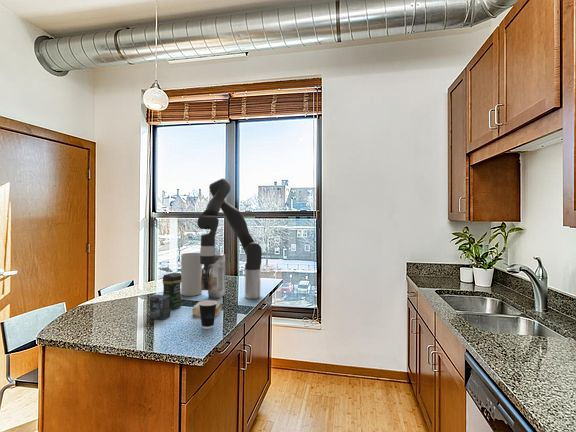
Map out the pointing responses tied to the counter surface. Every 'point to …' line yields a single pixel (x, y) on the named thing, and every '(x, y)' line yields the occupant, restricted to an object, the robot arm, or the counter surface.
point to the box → (159, 307)
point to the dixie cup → (207, 313)
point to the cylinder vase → (191, 274)
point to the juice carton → (218, 277)
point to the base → (197, 309)
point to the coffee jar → (172, 289)
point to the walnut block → (210, 283)
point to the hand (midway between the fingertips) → (207, 287)
